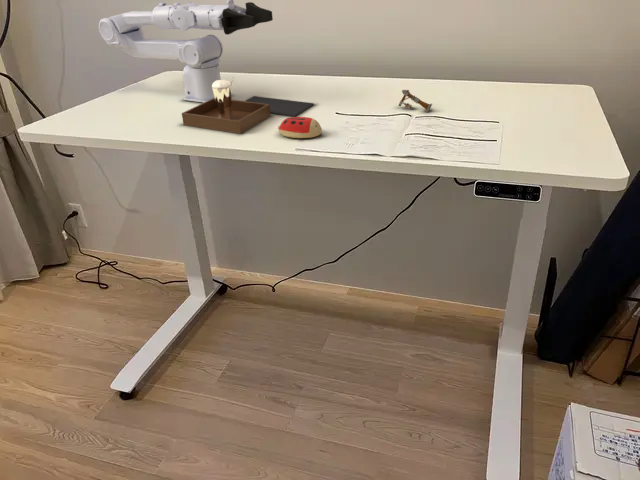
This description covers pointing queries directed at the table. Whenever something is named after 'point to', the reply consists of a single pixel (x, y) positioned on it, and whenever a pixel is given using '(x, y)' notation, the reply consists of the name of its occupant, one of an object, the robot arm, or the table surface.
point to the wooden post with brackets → (415, 99)
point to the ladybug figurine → (300, 127)
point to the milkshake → (223, 98)
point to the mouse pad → (282, 106)
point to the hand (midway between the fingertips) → (262, 18)
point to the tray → (241, 120)
